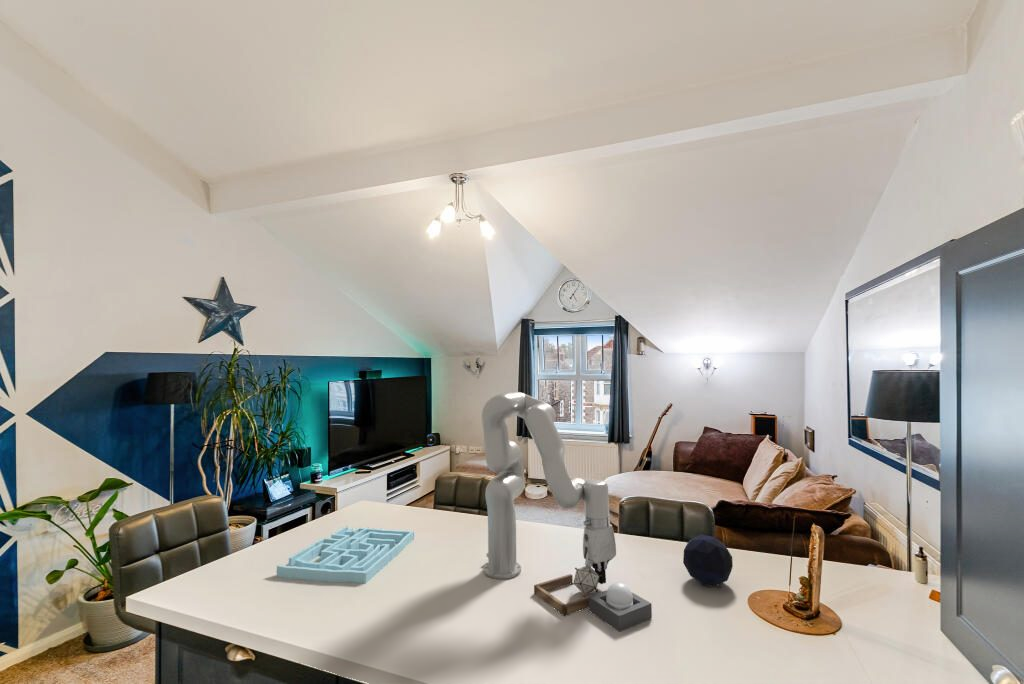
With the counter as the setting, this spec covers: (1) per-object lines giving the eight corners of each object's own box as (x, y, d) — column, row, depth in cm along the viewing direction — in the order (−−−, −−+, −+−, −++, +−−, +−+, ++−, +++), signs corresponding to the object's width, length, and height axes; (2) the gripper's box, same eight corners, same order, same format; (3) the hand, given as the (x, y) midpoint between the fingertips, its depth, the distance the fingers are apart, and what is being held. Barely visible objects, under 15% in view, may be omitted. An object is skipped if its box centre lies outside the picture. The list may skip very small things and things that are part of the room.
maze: (341, 534, 192) (341, 525, 192) (415, 539, 186) (415, 530, 186) (273, 578, 153) (273, 566, 153) (365, 586, 147) (365, 574, 147)
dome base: (588, 611, 130) (588, 596, 130) (620, 599, 136) (620, 585, 136) (619, 631, 119) (619, 616, 120) (651, 618, 126) (651, 603, 126)
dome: (601, 608, 129) (600, 581, 129) (620, 600, 133) (619, 575, 133) (619, 620, 123) (618, 592, 123) (638, 612, 126) (638, 585, 127)
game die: (595, 607, 138) (604, 587, 133) (567, 599, 139) (575, 579, 134) (596, 579, 146) (604, 560, 141) (569, 572, 146) (577, 552, 141)
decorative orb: (667, 556, 153) (684, 528, 145) (704, 549, 158) (722, 523, 150) (691, 598, 142) (711, 571, 134) (730, 591, 147) (751, 564, 139)
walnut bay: (534, 593, 140) (534, 585, 140) (570, 582, 147) (570, 573, 147) (564, 616, 127) (564, 607, 127) (602, 602, 134) (602, 593, 134)
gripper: (587, 529, 137) (590, 593, 136) (623, 519, 145) (626, 579, 143) (571, 523, 143) (574, 584, 142) (606, 513, 151) (609, 571, 150)
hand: (600, 581), depth 143 cm, fingers closed
